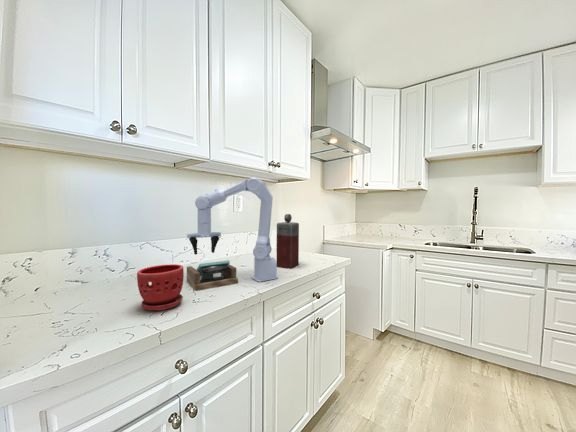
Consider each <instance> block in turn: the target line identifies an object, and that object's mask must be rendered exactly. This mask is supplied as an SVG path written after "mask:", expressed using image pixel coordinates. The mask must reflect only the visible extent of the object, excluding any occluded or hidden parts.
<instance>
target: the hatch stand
mask: <svg viewBox="0 0 576 432" xmlns="http://www.w3.org/2000/svg"><path fill="white" fill-rule="evenodd" d="M220 276H221V277H222V278H224V279H220V280H213V281H207V282H201V278H200V273H199V272H198V271H197V268H195V267H193V266H191V265H190V266H186V282H187V283H188V284H189V285H190V286H191V287H192V288H193V289H194V291H201V290H207V289H214V288H220V287H224V286H229V285H235V284H238V283H239V278H238V277H237V267H235V266H234V265H232V264H230V263H229V264H228V270H223V271H222V273H220Z"/></svg>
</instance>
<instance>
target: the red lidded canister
mask: <svg viewBox="0 0 576 432" xmlns="http://www.w3.org/2000/svg"><path fill="white" fill-rule="evenodd" d="M283 217H284V222H277V223H276V249H275V250H276V264H277V268H281V269H288V268H289V269H290V270H292V269H294V268H297V267H298V265H299V262H300V260H299V258H300V257H299V254H300V252H299V249H300V248H299V247H300V245H299V244H300V243H299V242H300V239H299V238H300V224H299V222H293V221H292V219H293V218H292V217H293V216H292V215H291V213H285V215H284V216H283ZM291 221H292V222H291ZM296 266H297V267H296ZM289 269H288V270H289Z"/></svg>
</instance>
